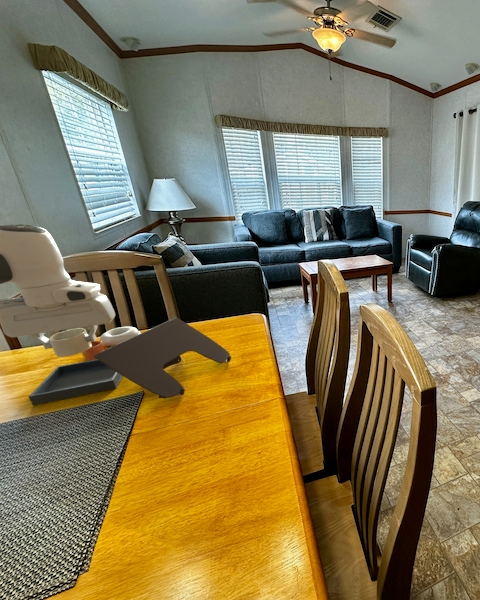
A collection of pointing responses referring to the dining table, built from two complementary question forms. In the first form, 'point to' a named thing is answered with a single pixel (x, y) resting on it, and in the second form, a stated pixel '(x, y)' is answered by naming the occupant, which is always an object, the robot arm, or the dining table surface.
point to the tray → (76, 381)
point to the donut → (118, 335)
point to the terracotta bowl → (93, 350)
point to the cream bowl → (70, 342)
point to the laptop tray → (160, 356)
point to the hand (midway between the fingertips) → (72, 344)
